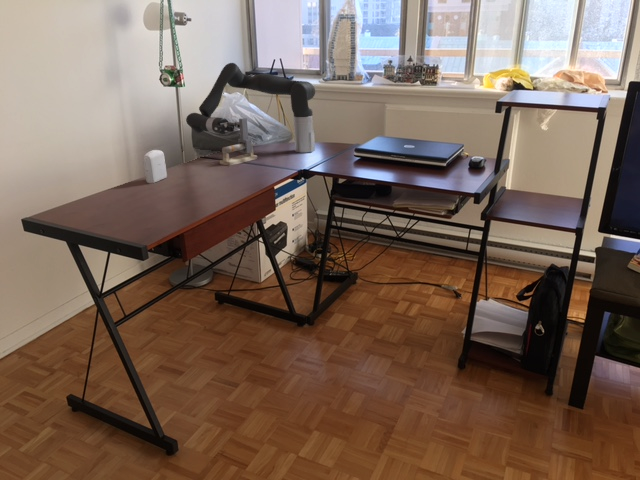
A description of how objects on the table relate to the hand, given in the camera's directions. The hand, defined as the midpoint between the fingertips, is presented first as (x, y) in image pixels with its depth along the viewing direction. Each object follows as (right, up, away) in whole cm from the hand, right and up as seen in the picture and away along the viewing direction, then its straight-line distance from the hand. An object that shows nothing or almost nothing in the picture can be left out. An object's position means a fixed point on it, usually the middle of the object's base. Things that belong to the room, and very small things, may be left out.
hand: (240, 128), depth 253 cm
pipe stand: (-1, -15, 0) cm, 15 cm away
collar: (+2, -11, +2) cm, 11 cm away
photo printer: (-30, -28, -29) cm, 50 cm away
